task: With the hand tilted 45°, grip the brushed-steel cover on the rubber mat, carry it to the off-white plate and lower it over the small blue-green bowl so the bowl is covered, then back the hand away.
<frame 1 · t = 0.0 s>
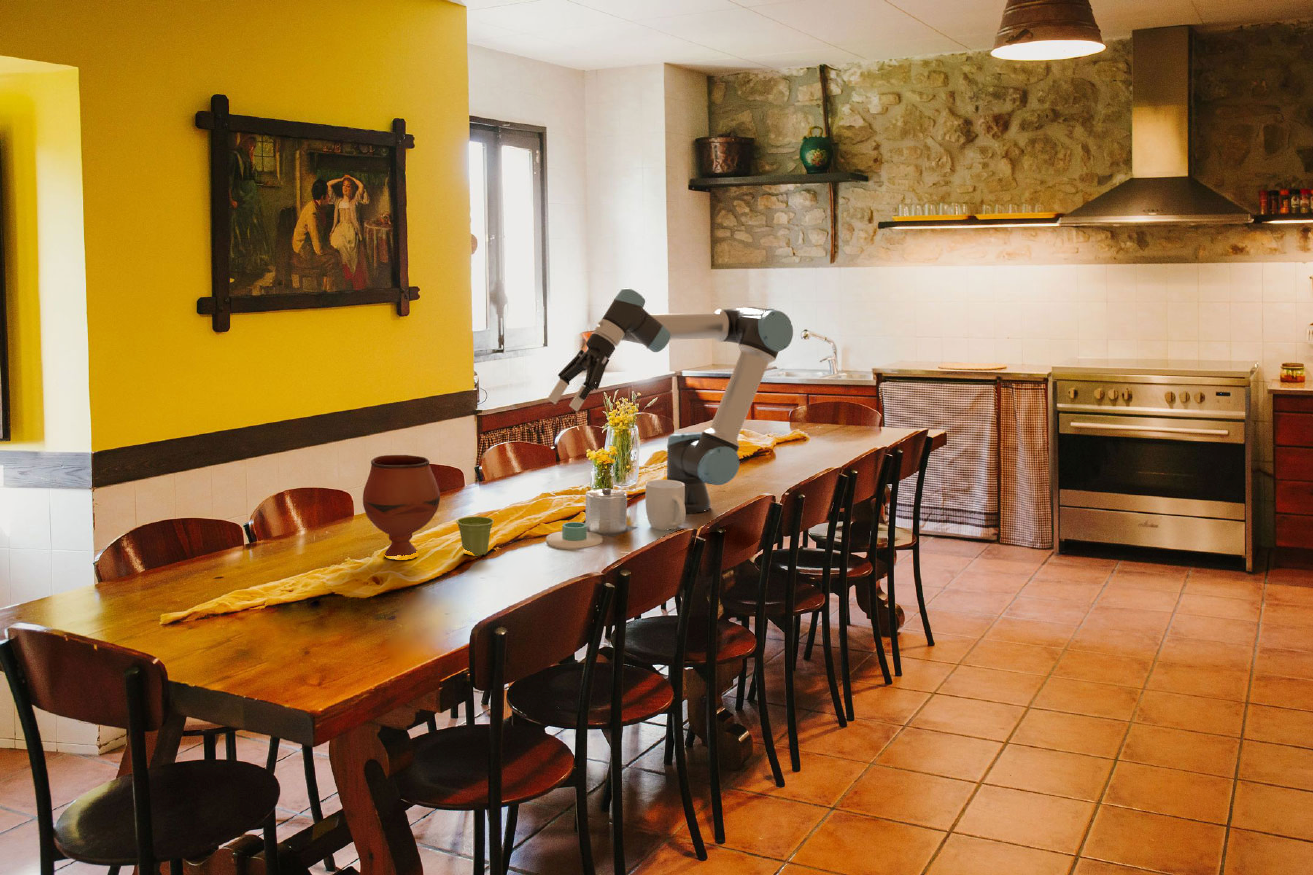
hand: (562, 405, 310), 36 cm above the table, tool tilted 35°, fingers open, 13 cm apart
plant pot: (475, 554, 296), on the table
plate: (574, 542, 309), on the table
cover: (605, 528, 322), point 1 cm above the table, touching mat
mat: (605, 530, 322), on the table
mug: (666, 530, 325), on the table
goblet: (401, 557, 292), on the table
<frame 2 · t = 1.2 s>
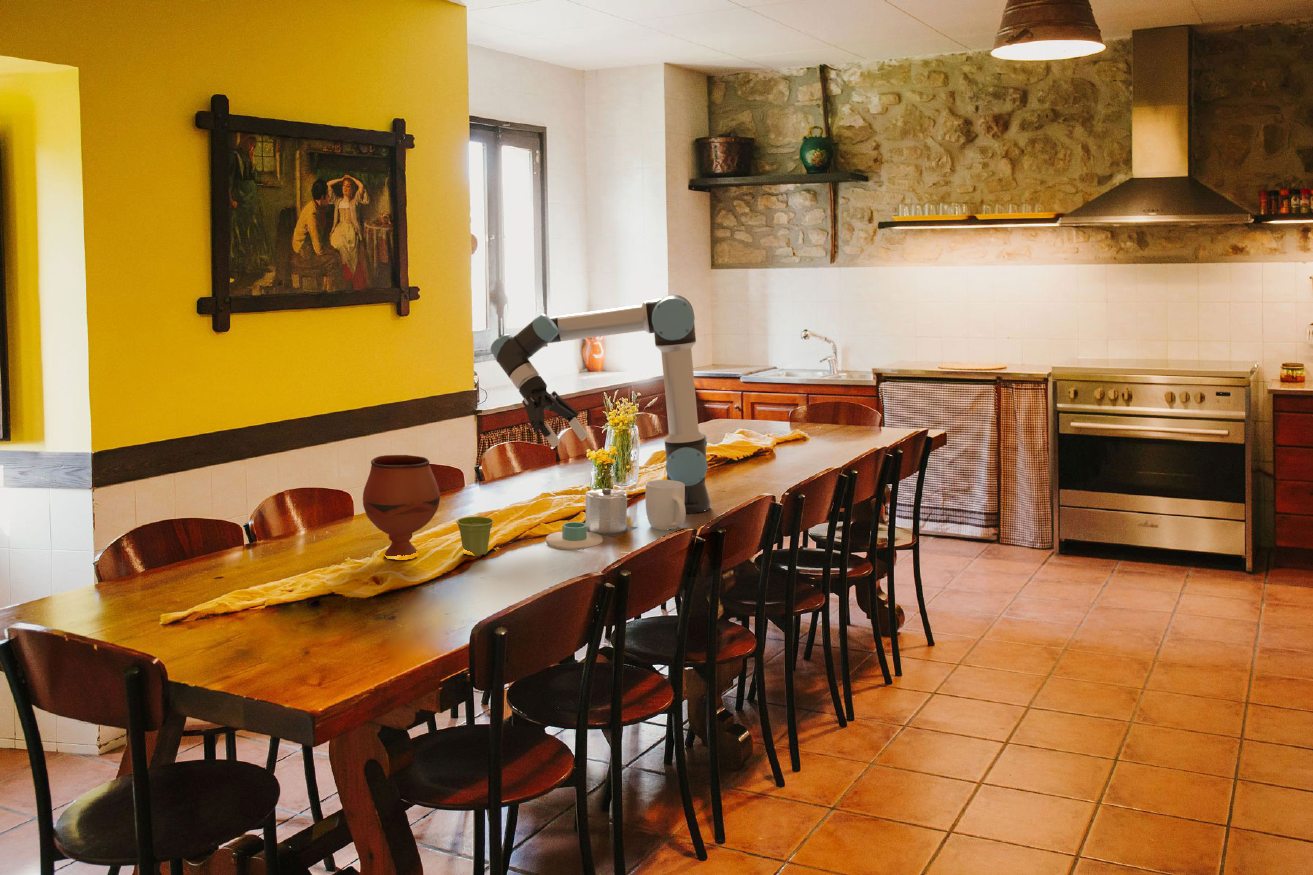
hand: (571, 441, 324), 24 cm above the table, tool tilted 45°, fingers open, 13 cm apart
nothing on the table moved.
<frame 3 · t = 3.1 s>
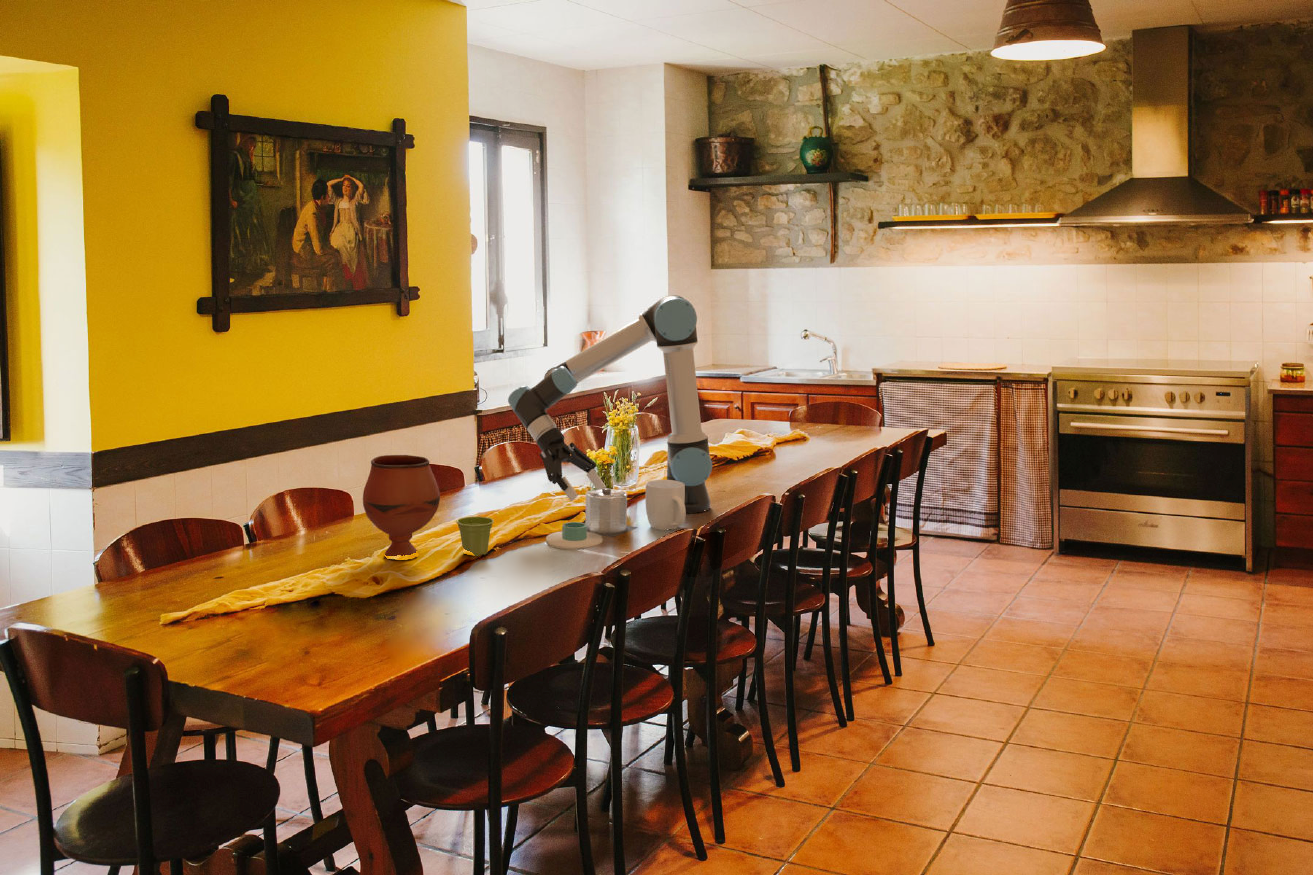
hand: (589, 494, 322), 10 cm above the table, tool tilted 45°, fingers open, 13 cm apart
nothing on the table moved.
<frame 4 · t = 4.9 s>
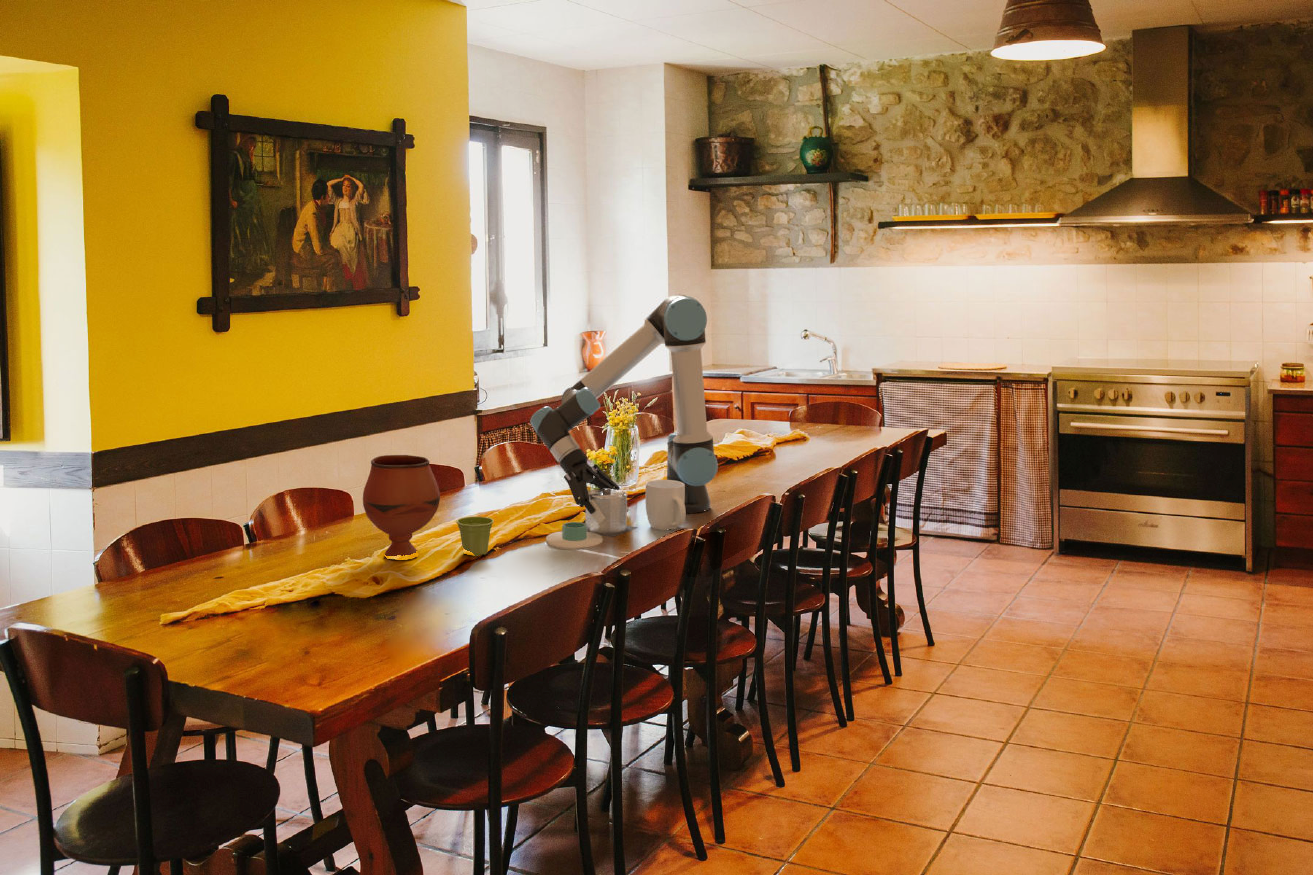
hand: (614, 517, 320), 4 cm above the table, tool tilted 45°, fingers closed on cover, 11 cm apart
cover: (605, 528, 322), point 1 cm above the table, touching gripper, mat
everything else where it was.
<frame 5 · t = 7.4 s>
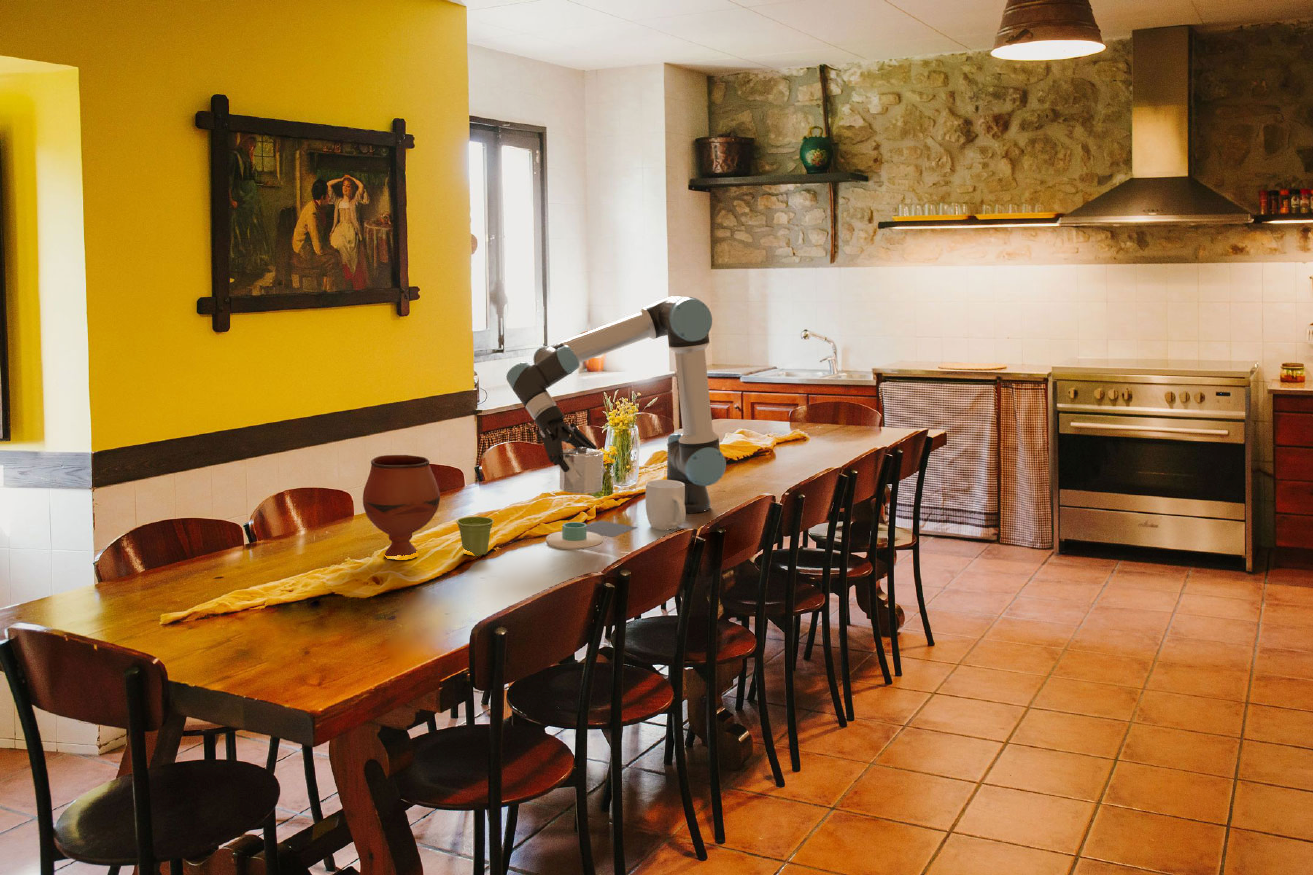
hand: (589, 477, 309), 17 cm above the table, tool tilted 45°, fingers closed on cover, 11 cm apart
cover: (580, 488, 311), point 14 cm above the table, touching gripper
everything else where it was.
when the fingers open (6 cm above the table, at t = 10.3 s): cover drops 1 cm, resting on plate.
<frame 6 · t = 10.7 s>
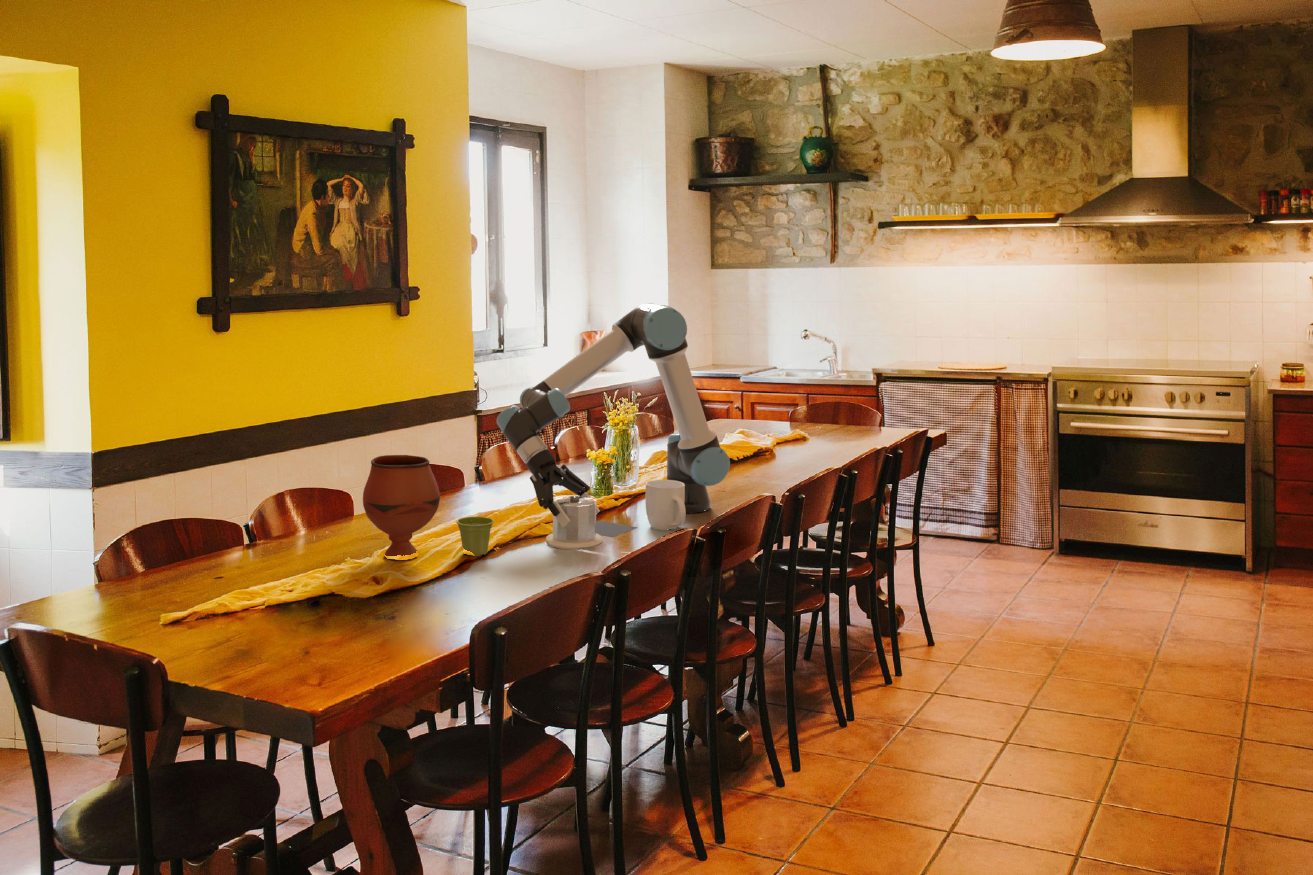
hand: (581, 519, 307), 7 cm above the table, tool tilted 45°, fingers open, 13 cm apart
cover: (574, 537, 309), point 1 cm above the table, touching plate
everything else where it was.
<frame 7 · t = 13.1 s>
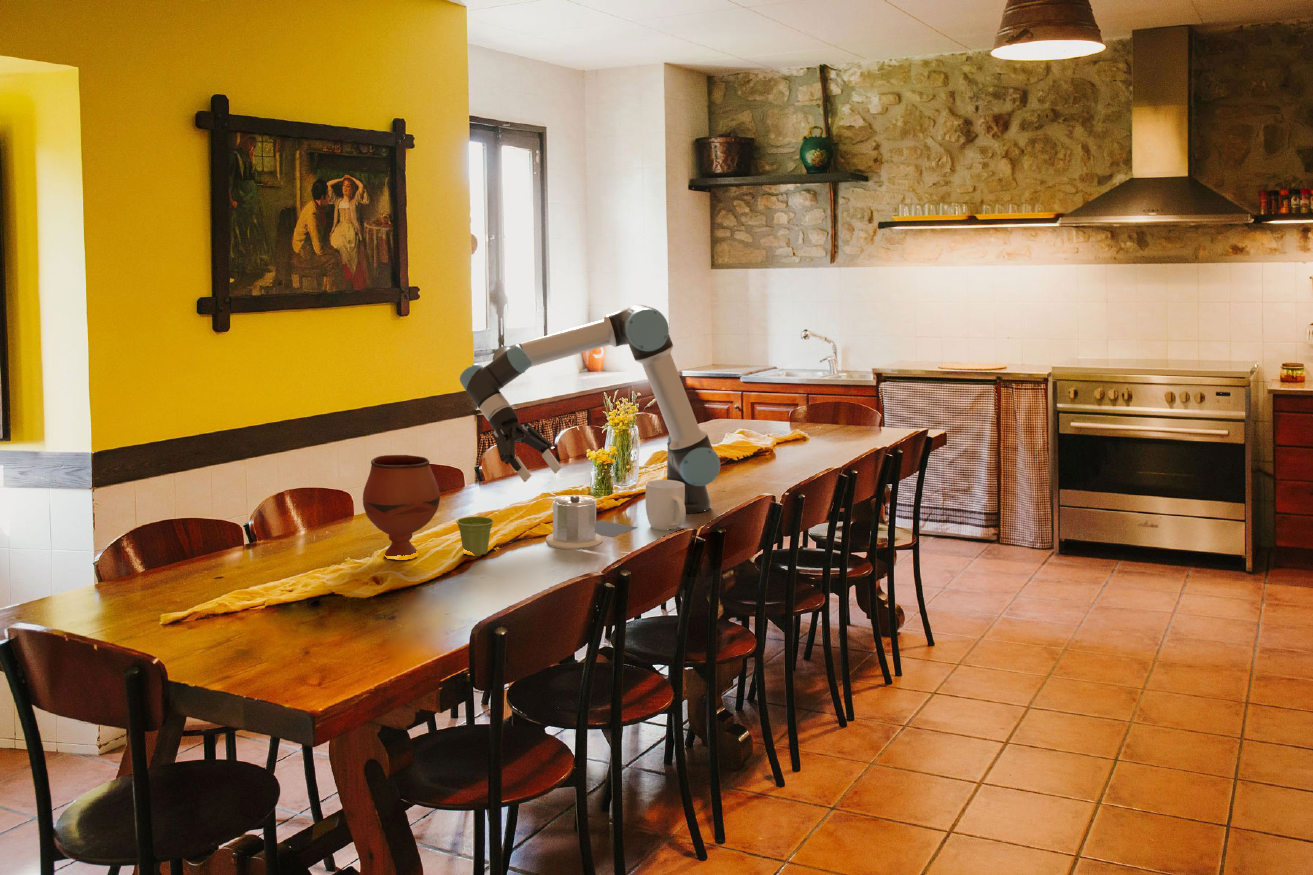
hand: (543, 474, 312), 17 cm above the table, tool tilted 45°, fingers open, 13 cm apart
nothing on the table moved.
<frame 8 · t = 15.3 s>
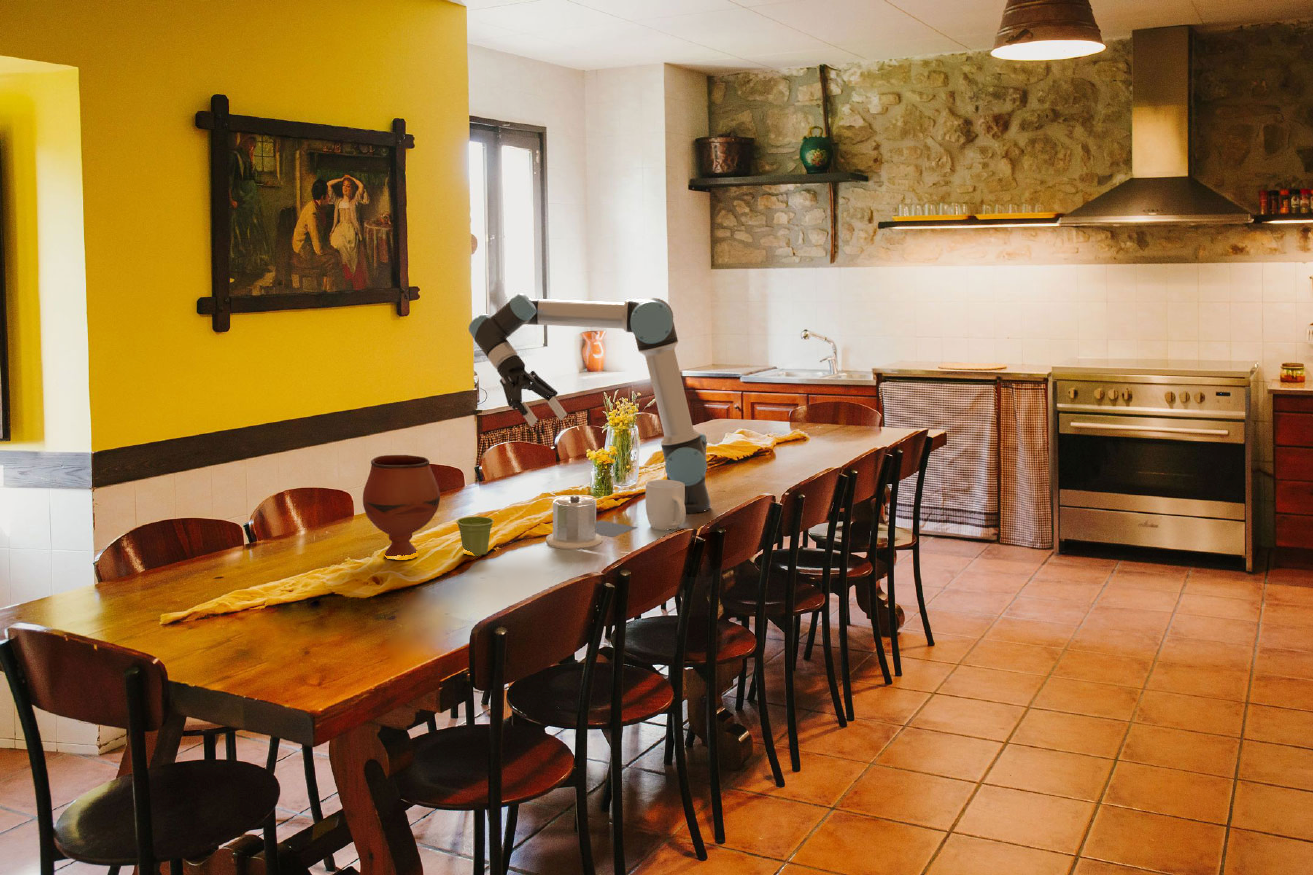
hand: (549, 420, 323), 30 cm above the table, tool tilted 45°, fingers open, 13 cm apart
nothing on the table moved.
at the end: cover 0.1 cm off-centre on the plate, point 1.2 cm above the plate's base; cover tilted 0°; the gripper is holding nothing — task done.
